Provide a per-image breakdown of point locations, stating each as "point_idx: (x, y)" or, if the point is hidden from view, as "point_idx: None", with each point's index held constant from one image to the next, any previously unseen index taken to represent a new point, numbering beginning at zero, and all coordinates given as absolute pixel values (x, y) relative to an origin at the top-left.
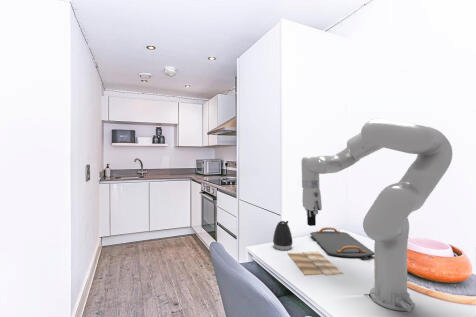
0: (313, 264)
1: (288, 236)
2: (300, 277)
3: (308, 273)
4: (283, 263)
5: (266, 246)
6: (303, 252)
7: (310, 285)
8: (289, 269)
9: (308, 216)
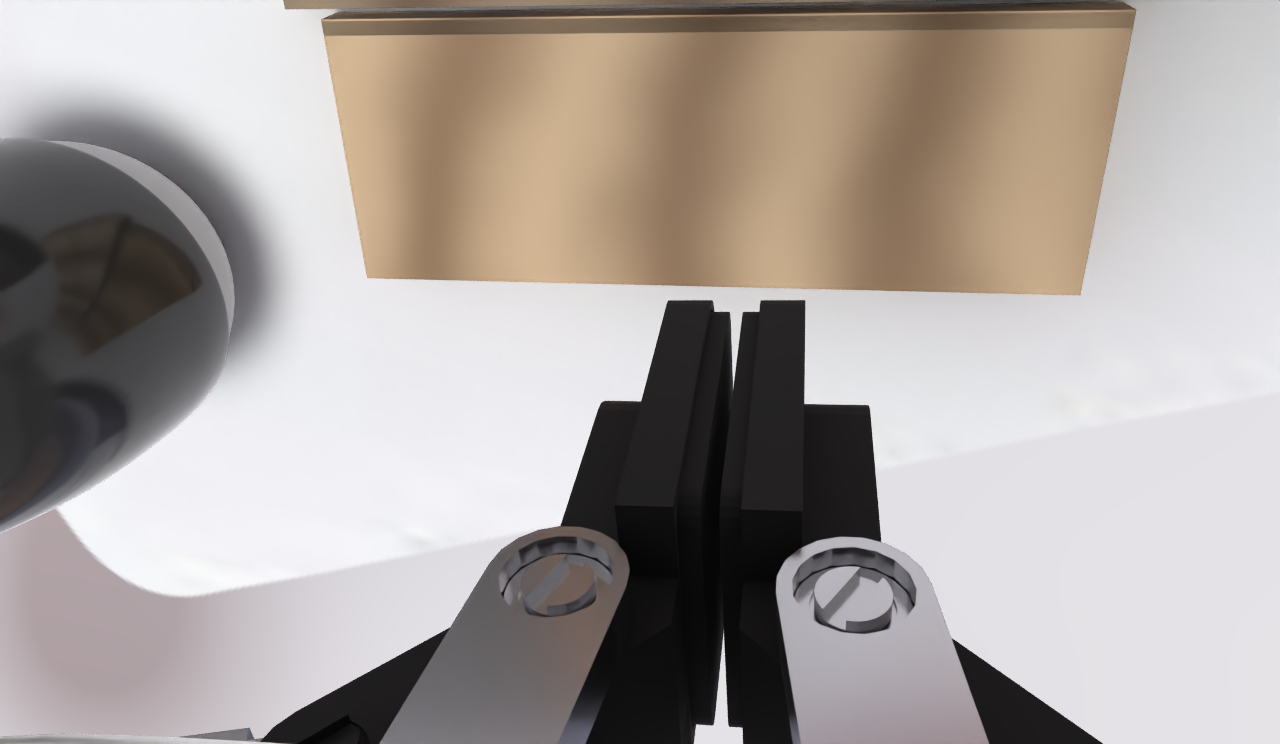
0: (784, 29)
1: (88, 315)
2: (1027, 313)
3: (1066, 237)
4: (611, 378)
5: None
6: (301, 6)
7: (1257, 275)
8: None
9: (686, 723)
